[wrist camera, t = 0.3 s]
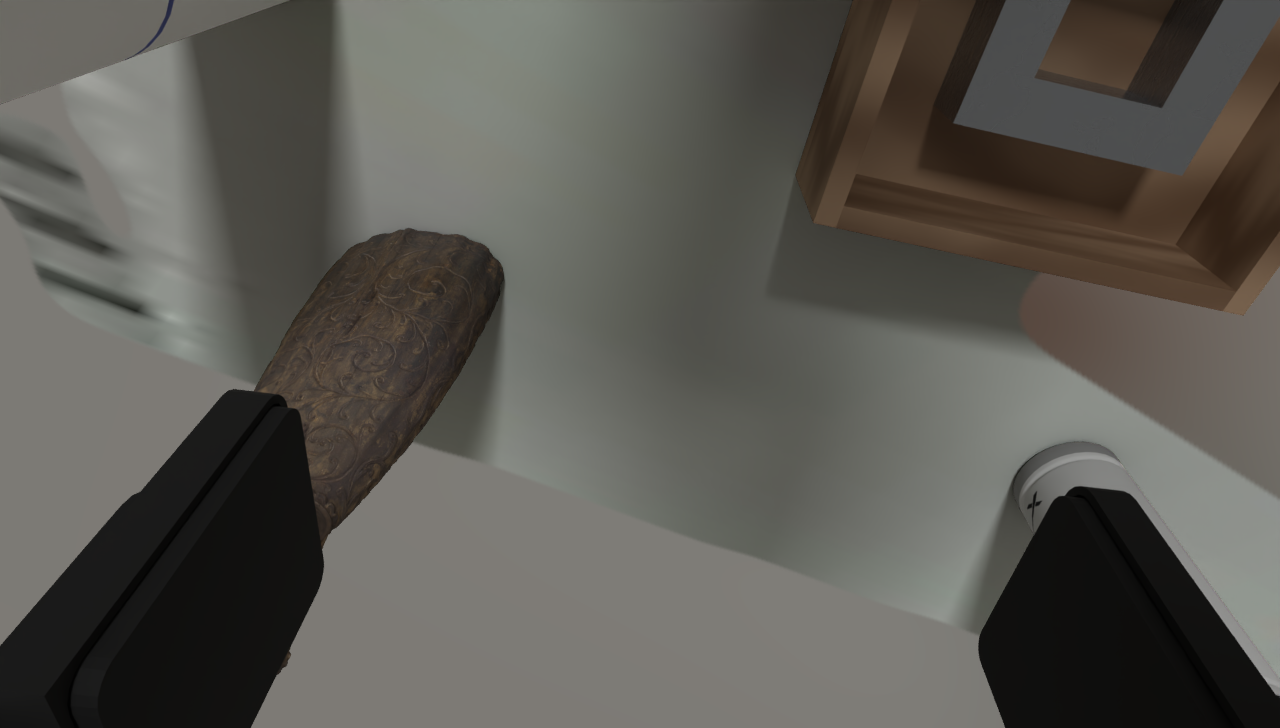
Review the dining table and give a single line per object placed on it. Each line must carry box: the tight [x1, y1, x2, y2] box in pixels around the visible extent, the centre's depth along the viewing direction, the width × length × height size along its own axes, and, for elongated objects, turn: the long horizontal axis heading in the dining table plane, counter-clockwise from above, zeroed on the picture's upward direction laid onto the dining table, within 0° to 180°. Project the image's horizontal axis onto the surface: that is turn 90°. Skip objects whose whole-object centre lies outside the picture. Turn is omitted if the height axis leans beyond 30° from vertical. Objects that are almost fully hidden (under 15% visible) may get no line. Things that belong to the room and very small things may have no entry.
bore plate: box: [934, 0, 1280, 176], centre depth 31 cm, size 10×10×3 cm
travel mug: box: [1013, 442, 1280, 700], centre depth 40 cm, size 6×7×20 cm
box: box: [796, 0, 1280, 315], centre depth 31 cm, size 20×20×6 cm
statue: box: [254, 228, 504, 674], centre depth 32 cm, size 9×8×25 cm
